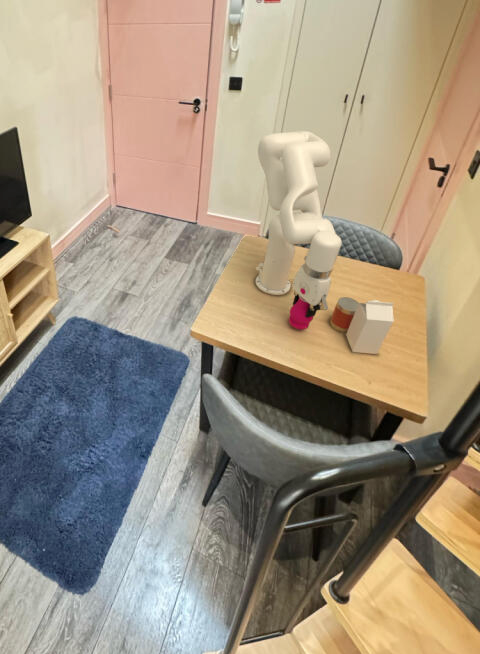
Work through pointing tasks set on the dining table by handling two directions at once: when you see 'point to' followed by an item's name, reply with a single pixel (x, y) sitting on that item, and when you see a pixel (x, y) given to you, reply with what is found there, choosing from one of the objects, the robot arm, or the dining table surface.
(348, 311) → the sauce tin
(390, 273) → the dining table surface
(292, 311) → the pepper mill
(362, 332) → the milk carton
